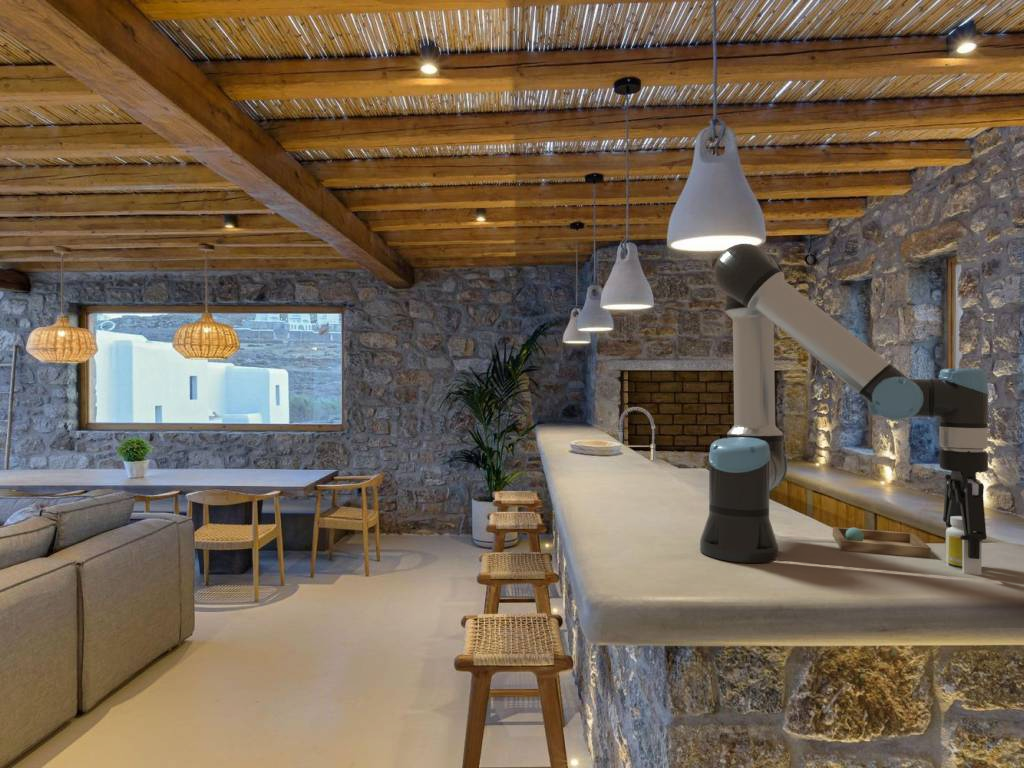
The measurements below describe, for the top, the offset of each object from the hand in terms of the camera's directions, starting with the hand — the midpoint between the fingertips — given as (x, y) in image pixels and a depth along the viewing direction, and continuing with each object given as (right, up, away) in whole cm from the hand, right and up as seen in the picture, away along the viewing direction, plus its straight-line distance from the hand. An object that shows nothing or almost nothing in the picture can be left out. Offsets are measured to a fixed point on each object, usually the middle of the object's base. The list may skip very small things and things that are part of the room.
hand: (963, 568), depth 121 cm
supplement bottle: (0, 0, 0) cm, 0 cm away
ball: (-11, 0, +17) cm, 20 cm away
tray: (-7, 0, +15) cm, 17 cm away
